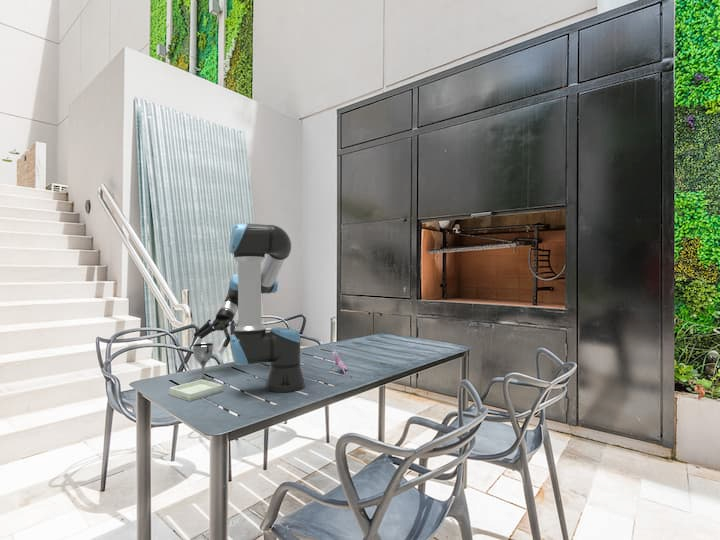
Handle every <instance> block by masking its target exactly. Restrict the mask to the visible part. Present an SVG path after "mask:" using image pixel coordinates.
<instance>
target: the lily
mask: <svg viewBox="0 0 720 540" xmlns="http://www.w3.org/2000/svg"><path fill="white" fill-rule="evenodd" d="M333 352H334V353H331V355H332V356H333V358H334V364H333V365H332V366H331V368H330V369H329V372H331V371H332V369H333V368H334V367H335V366H338V367H339V368H341V369H342V371H343V373H344V374H345V373H346V371H345V369H346V370H348V368H347V366H346V365H345V363H344V362H343V360H342V359H341V358H340V357H339V355H338V353H337V351H336V350H335V349H333Z"/></svg>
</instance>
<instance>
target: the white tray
mask: <svg viewBox="0 0 720 540" xmlns="http://www.w3.org/2000/svg"><path fill="white" fill-rule="evenodd" d="M223 391H224V384H220V383H217V382H213V381H211V380H210V381H206V380H198V381H194V380H193V381H191V382H186V383H183V384H182V383H181V384H178V385H174V386H170V387H168V395H169V396H173V397H175V398H179V399H182V400H184V401H187V402H192V401H195V400H196V401H197V400H199V399H202V398H206V397H210V396H212V395H216V394H219V393H222V392H223Z"/></svg>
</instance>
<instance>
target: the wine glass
mask: <svg viewBox="0 0 720 540" xmlns="http://www.w3.org/2000/svg"><path fill="white" fill-rule="evenodd" d="M192 346H193V351H192V353H193V357H194V359H195V361H197V362H198V363H199V365H200V367H201V377H199V378H195V379H194V380H193V382H194V381H198V380H206V381H210V382H211V381H213V378H212V377H207V376H205V366H206V365H207V363H209V361H210V359H211V358H212V356H213V352H214V344H213V343H212V342H201V343H198V344H194V345H193V344H192Z"/></svg>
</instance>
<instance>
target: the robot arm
mask: <svg viewBox="0 0 720 540" xmlns="http://www.w3.org/2000/svg"><path fill="white" fill-rule="evenodd" d="M289 236H290V235H288V233H287V232H286V231H285V230H284V229H283V228H282V227H280V226H277V225H274V224H261V223H247V222H246V223H236V224H234V225H233V227H232V230H231V234H230V239H229V253H230V254H232V255H233V259H234V261H236V262H237V273H235V274H232V276H231V278H230V281H229V283H228V284H229V285H228V291H227V295H226V297H225V299H224V301H223V303H222V304H221V306H220V308H219V310H218V311H217V313H216V315H215V318H214V320H211V319H207V321H206V322H205V324H203V325H202V326H201V327H200V328H198V330H196V332H194V333H193V336H194V338H195V339H194V341H193V344H192V346H191V348H190V350H191V351H192V352H193V345H194V344H198V343H202V340H203V338H205V337H207V336H209V335H210V334H212V332H216V331H217V332H218V331H221V332H222V331H223V332H224V335H225V337H224V338H223V340H222V342H221V344H220V345H219V348H218V349H217V352H218V353H219V354H220V355H223V353H224V351H225V349H226V348H227V347H229V346H228V345H229V344H230V351H231V356H232V360H233V362H234V364H235V365H237V366H244V365H245V366H249V365H257V364H264V363H265V364H266V363H270V368H269V369H270V370H269V373H268V378H267V379H266V382H265V388H266V390H268V391H269V392H273V393H275V392H276V393H290V392H295V391H299V390H302V389H303V388H305V385H306V383H305V382H306V381H305V378H304V376H303V371H302V368H301V343H302V342H301V335H300V332H299V330H296V329H292V328H286V327H271V328H270V330H269V331H268V332H266V327H265V326H264V325H263V324H262V294H275V293H276V292H278V289H279V286H278V285H279V282H278V275H279V273H280V271H281V268H282V266H283V263H284V261H285V260H286V259H287V258H288V257H289V256H290V254H291V251H292V242H291V238H290V237H289ZM265 256H266V257H265ZM263 261H264V263H263V266H262V264H261V263H262V262H263ZM237 312H238V314H237ZM236 314H237V315H238V317H237V318H238V320H237V323H238V325H237V323H236V321H235V320H234V318H235V316H236ZM228 327H229V330H230V331H229V330H228ZM229 332H230V333H229Z"/></svg>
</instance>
